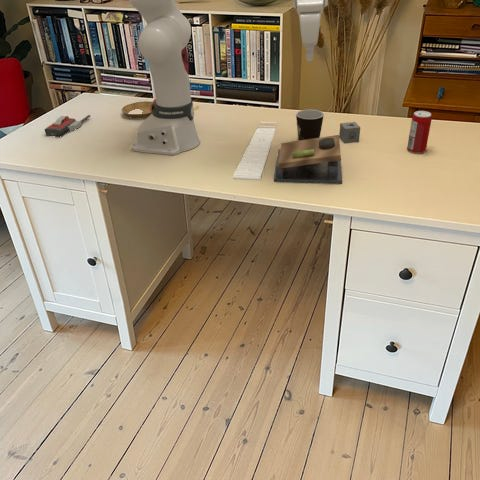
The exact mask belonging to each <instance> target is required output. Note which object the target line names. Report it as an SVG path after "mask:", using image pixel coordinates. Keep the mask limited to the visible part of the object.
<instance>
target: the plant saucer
mask: <svg viewBox="0 0 480 480" xmlns="http://www.w3.org/2000/svg"><path fill="white" fill-rule="evenodd" d="M152 102H153V101H136V102H133V103H129V104H126V105H125V106H123V107H122V108H121V112H122V113H123V114H124V115H125V116H127V117H129V118H130V117H131V119H134V118H143V119H147V118H148V117H149V116H150V115H151V114H152V112H150V107H151V105H152ZM135 109H140V110H142V111H143V112H142V114H128V113H129V112H130V111H132V110H135Z"/></svg>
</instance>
